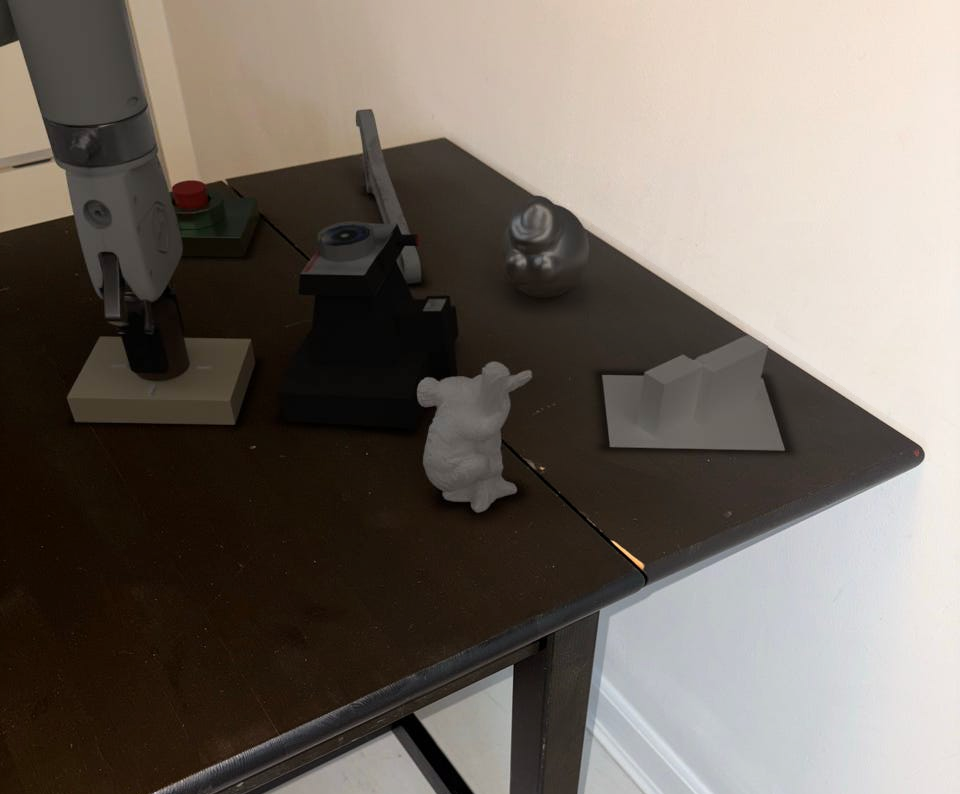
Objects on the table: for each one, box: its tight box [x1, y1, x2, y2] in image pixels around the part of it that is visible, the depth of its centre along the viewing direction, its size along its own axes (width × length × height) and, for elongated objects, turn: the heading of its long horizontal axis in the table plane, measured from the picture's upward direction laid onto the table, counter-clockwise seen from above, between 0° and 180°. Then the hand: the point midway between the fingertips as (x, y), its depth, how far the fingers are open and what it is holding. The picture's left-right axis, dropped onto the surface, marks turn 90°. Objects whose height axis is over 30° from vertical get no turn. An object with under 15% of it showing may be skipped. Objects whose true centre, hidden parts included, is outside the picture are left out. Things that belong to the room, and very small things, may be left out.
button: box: [171, 179, 209, 208], centre depth 107 cm, size 4×4×2 cm
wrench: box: [355, 108, 422, 285], centre depth 110 cm, size 8×2×30 cm
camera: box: [276, 220, 460, 429], centre depth 85 cm, size 16×14×15 cm
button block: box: [169, 187, 261, 258], centre depth 109 cm, size 12×10×4 cm
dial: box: [126, 296, 190, 381], centre depth 85 cm, size 5×5×6 cm
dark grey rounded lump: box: [500, 195, 590, 299], centre depth 98 cm, size 9×10×10 cm
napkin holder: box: [601, 334, 786, 452], centre depth 85 cm, size 15×11×6 cm
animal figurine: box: [417, 361, 533, 514], centre depth 75 cm, size 8×7×12 cm
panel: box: [66, 336, 256, 426], centre depth 88 cm, size 14×10×3 cm
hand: (158, 351), depth 86 cm, fingers closed on dial, 4 cm apart
